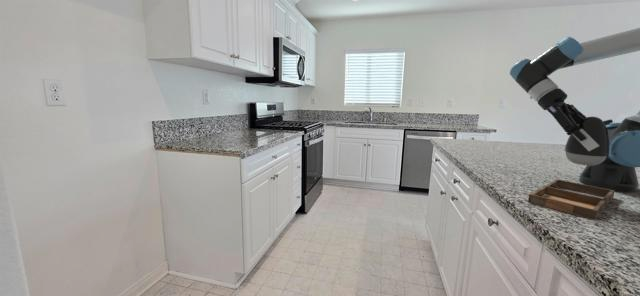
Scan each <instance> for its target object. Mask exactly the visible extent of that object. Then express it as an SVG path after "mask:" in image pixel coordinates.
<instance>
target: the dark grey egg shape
mask: <svg viewBox="0 0 640 296" xmlns="http://www.w3.org/2000/svg"><path fill="white" fill-rule="evenodd" d="M609 123H614V121H613V119H606V120H603V119H601V118H599V117H597V116H586V118H584V119H582V120H581V121H580V122H579V123H578V124H577V125H578V127H579V128H580V129H583V130H584V131H585V132H586V133H587V134H588V135H589V136H590V137H591V138H592V139H593V140H594V141H595V142H596V143H597V144H598V145H599V147H597V148H595V149H593V150H591V151H588V150H587V149H586V148H585V147H584V146H583V145H582V144H581V143H580V142H579V141H578V140H577V139H576V138H575V137H574V136H573V135H572V134H573V133H572V134H571V135H568V136H569V137H568V138H567V141H566V143H565V146H564V150H563V151H565V156H566V159H567V160H568V161H569V162H571V163H573V164H577V165H581V166H587V165H588V166H594V165H598V164H600V163H602V162H603V161H604V160H605V159H606V157H607V156H609V151H610V142H609V135H608V131H607V128H606V125H607V124H609ZM580 129H579V130H580Z"/></svg>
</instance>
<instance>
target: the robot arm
mask: <svg viewBox="0 0 640 296" xmlns="http://www.w3.org/2000/svg"><path fill="white" fill-rule="evenodd" d="M635 52H640V27H638V28H637V27H636V28H633V29H629V30H625V31H621V32H619V33H614V34H609V35H607V36H603V37H599V38H595V39H592V40H587V41H583V42H579V41H578V40H576V39H575V38H573V37H572V36H567V37H565V38H563V39H561V40H560V41H557V43H556V44H554V45H552V46H551V47H550V48H548V49H547V50H546V51H544V52H543V53H541V54H540V55H538V56H537V57H536V58H534V59H532V60H531V59H529V58H523V59H521V60H520V61H517V62H516V63H515V64H514V65H513V66H512V67H511V69H510V70H509V75H510V77H512V79H513V80H514V81H515V82H516V84H518V86H520V87H521V88H522V89H523V91H524V92H526V93H527V94H528V95H529V99H530V100H531V99H532V100H533V101H535V102H537V104H538V105H539V107H540V108H541V109H543V111H547V112H548V113H550V115H552V117H553V119H555V121H556V122H557V123H558V125H559V126H560V127H561V128H562V129H563V131H565V132H566V134H567V136H570V135H571V134H572V133H573V134H572V135H573V136H574V137H575V138H576V139H577V140H578V141H579V142H580V143H581V144H582V145H583V146H584V147H585V148H586V149H587V150H588V151H591V150H593V149H595V148H597V147H599V145H598V144H597V143H596V142H595V141H594V140H593V139H592V138H591V137H590V136H589V135H588V134H587V133H586V132H585V131H584V130H583V129H580V128H579V127H578V125H577V124H578V123H579V122H580V121H581V120H582V119H584V118H586V117H587V116H586V115H585V114H584V113H582V112H581V111H580V110H579V109H578V108H577V107H575V106H574V104H569V103H566V102H565V100H566V99H567V98H568V94H567V93H566V92H565V91H564V90H563V89H561V88H559V86H558V85H557V84H556V83H555V81H553V80H552V79H551V78H550V77H549V76H550V75H551V74H553V73H554V72H556V71H558V70H560V69H565V68H569V67H573V66H578V65H582V64H587V63H591V62H596V61H600V60H604V59H610V58H614V57H617V56H623V55H626V54H630V53H631V54H632V53H635ZM606 128H607V131H608V135H609V142H610V151H609V156H607V157H606V159H605V160H604V161H603V162H602V163H600V164H598V165H594V166H588V165H585V167H584V169H582V172H581V173H580V175H579V179H578V181H579V182H580V183H581V184H584V185H589V186H594V187H599V188H605V189H610V190H615V191H616V192H617V191H619V192H637V191H638V190H639V185H640V183H639V180H638V176H637V171H636V168H640V110H638V112H637V113H636V114H635V115H632V116H627V117H625V118H624V119H623V120H622V121H621V122H612V123H609V124H607V125H606ZM579 129H580V130H579Z"/></svg>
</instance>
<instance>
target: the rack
mask: <svg viewBox="0 0 640 296" xmlns="http://www.w3.org/2000/svg"><path fill="white" fill-rule="evenodd" d="M560 188H562V189H560ZM565 189H568V190H565ZM569 190H572V191H569ZM574 191H577V192H574ZM615 191H616V190H610V189H605V188H599V187H595V186H591V185H587V184H584V183H578V182H572V181H569V180H568V181H567V180H562V179H557V178H556V179H554V180H552V181H551V182H549V183H547V184H546V185H545V184H544V186H542V187H539V188H538V189H536V190H534V191H533V192H531V193H529V195H528V198H527V199H528V200H527V203H530V204H532V205H533V204H534V205H537V206H541V207H546V208H548V209H552V210H556V211H561V212H565V213H568V214H570V215H574V216H575V215H576V216H579V217H582V218H587V219H591V220H594V221H595V220H596V219H597V218H598V217H599V216H600V214H601V213H602V212H603V211H604V209H605V208H606V207H607V206H608V205H609V203H611V201H612V200H613V199H614V196H615ZM579 192H581V193H579ZM583 193H584V194H583ZM585 193H586V194H585ZM588 194H590V195H588ZM592 195H593V196H592ZM594 195H595V196H594ZM597 196H599V197H597ZM601 197H602V198H601Z"/></svg>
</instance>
